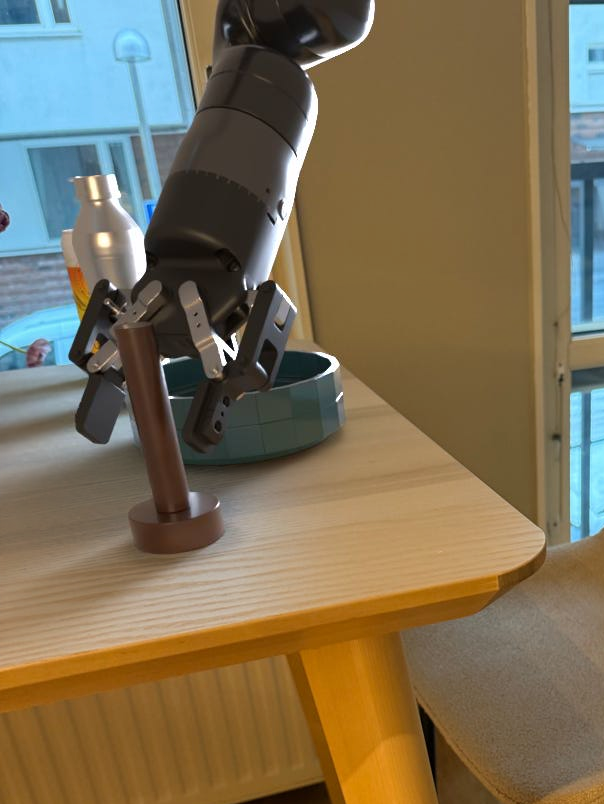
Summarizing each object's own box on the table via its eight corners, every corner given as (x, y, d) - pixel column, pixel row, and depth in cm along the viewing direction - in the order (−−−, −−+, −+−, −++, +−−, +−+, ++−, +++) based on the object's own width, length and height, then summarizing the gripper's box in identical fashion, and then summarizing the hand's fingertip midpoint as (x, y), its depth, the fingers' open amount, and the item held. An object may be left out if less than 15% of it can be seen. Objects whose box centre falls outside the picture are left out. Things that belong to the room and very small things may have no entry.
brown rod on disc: (120, 555, 57) (64, 336, 51) (153, 521, 62) (105, 318, 56) (209, 552, 56) (163, 332, 50) (235, 519, 61) (196, 314, 55)
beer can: (96, 385, 99) (58, 233, 92) (92, 374, 104) (56, 229, 97) (154, 377, 101) (121, 227, 94) (148, 367, 106) (117, 224, 99)
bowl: (104, 473, 72) (86, 402, 69) (179, 413, 87) (167, 353, 84) (324, 466, 70) (314, 393, 68) (361, 407, 85) (354, 345, 83)
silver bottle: (176, 389, 95) (131, 172, 86) (179, 404, 90) (131, 174, 80) (111, 397, 94) (57, 177, 84) (109, 413, 88) (52, 179, 78)
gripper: (97, 170, 58) (4, 403, 54) (291, 160, 53) (202, 417, 49) (171, 251, 65) (92, 463, 61) (349, 249, 59) (275, 481, 56)
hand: (141, 442), depth 55 cm, fingers open, 7 cm apart
